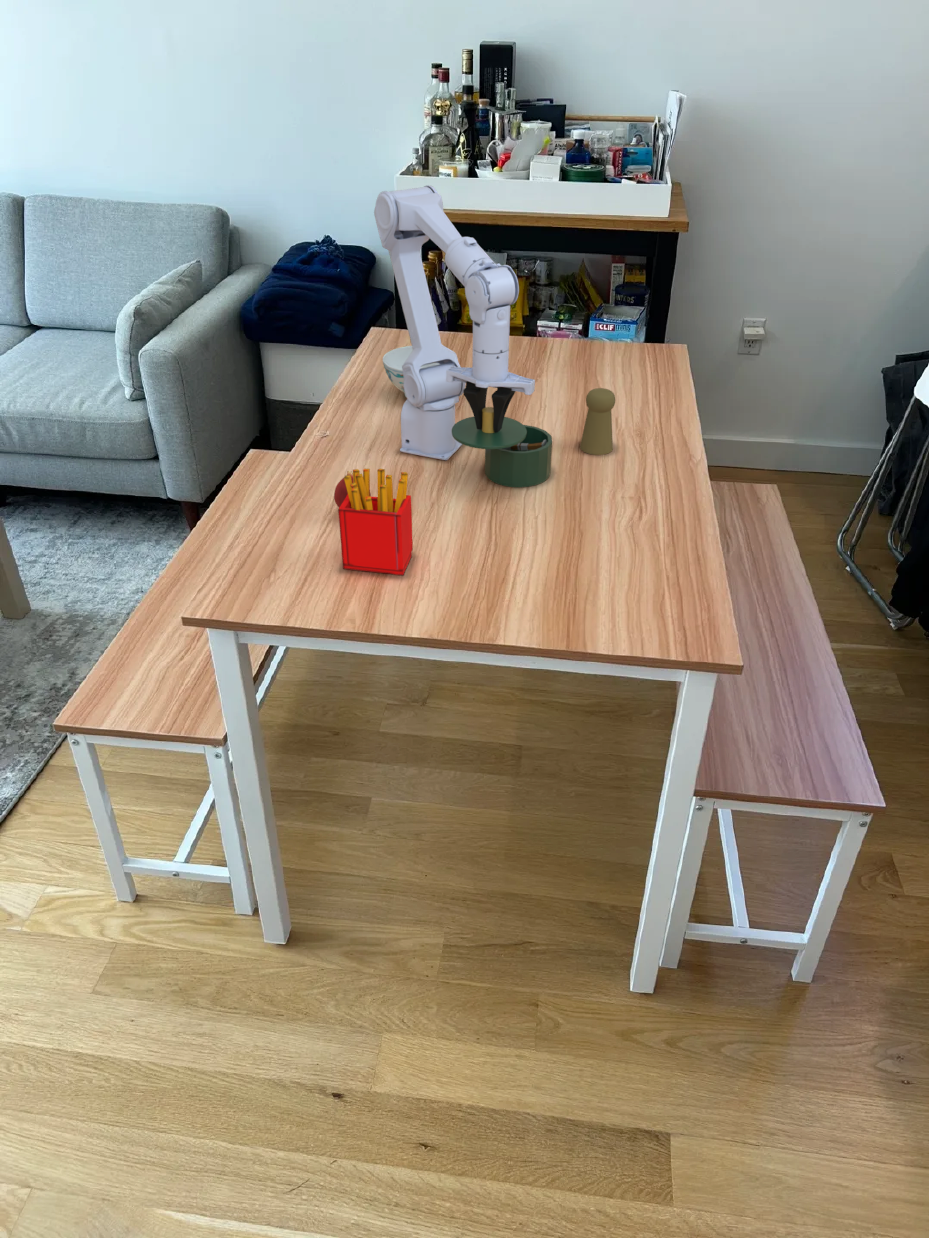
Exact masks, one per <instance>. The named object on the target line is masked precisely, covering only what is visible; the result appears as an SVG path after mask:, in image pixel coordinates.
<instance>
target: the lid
mask: <svg viewBox="0 0 929 1238" xmlns="http://www.w3.org/2000/svg"><path fill="white" fill-rule="evenodd" d="M493 421H494V410H493V406H486V408H483V409H482V429H481V430H480V429H477V427H476V422H475V418H474V416H470V417H465V418H463V419H461V420H459V421H457V422H455V425H454V426H453V427H452V436H453V438H454V439H455V440H456V441H458V442H459V443H461V444H463V445H462V446H466V447H469V448H473V449H480V450H485V449H502V448H507V447H511V446H514V445H517V444H519V443H520V442H522V441H523V440H524V439H525V438H526V434H527V430H526V428H525V426H524V425H525V424H523V423H522V422H521V421H518V420H516V419H514V418H510V417H507V416H504V420H503V424H502V429H501V430H500V431H499V432H494V430H493Z"/></svg>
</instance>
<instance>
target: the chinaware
mask: <svg viewBox="0 0 929 1238" xmlns="http://www.w3.org/2000/svg"><path fill="white" fill-rule="evenodd" d="M412 351H413V349H412V345H406V346H400V347H397V348H394V349H391V350H389V351H387V352H386V353H385V354H383V356H382V365H383V368H384V370H385V374H386V375H387V378H388V379H389V381H390V382H391V384H392V385H393V386H394V387H395V388H397V389H398V390H399V391H400V392H401V393H404V397H405V398H406V399H407V397H406V394H405V391H404V376H403V370H402V366H403V364H404V362H405V361H406V360H407V358H408V357H409V356H410V354H411V353H412ZM457 359H458V360H459V358H458V356H457ZM435 365H439V363H432V364H427V365H423V366H421V367H420V369H422V368H427V367H431V366H435Z"/></svg>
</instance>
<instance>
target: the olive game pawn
mask: <svg viewBox="0 0 929 1238" xmlns="http://www.w3.org/2000/svg"><path fill="white" fill-rule="evenodd" d="M585 403H586V407H587V408H588V409H587V412H586V417H585V422H584V426H583V431H582V436H581V439H580V444H579V449H580V450H581V451H582V452H584V453H585V454H588V455H594V456H603V455H604V456H605V455H607V454H610V453H612V451H613V450H614V442H613V439H614V438H613V419H612V418H613V417H612V416H613V415H612V410H613V408H614V407H615V404H616V395H615V393H614V392H613V391H612V390H610V389H608V388H605V387H598V388H593V389H591V390H589V391H588V393H587V394H586V397H585Z"/></svg>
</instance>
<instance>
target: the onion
mask: <svg viewBox="0 0 929 1238" xmlns="http://www.w3.org/2000/svg"><path fill="white" fill-rule="evenodd" d="M346 475H350V476H351V479H352V483H353V471H351V470H347V473H346ZM333 493H334V494H333V499H334V503H335V505H336V506H337V508H338V509H339V508H340V506H341V504H342V503H343V501H344V499H345V498H346V496H347V494H348V492H347V488H346V484H345V480H344V477H342V478H341V479H340V481H339V482H337V484H336V486H335V489H334V492H333ZM370 496H372V493H371V492H370Z"/></svg>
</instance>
